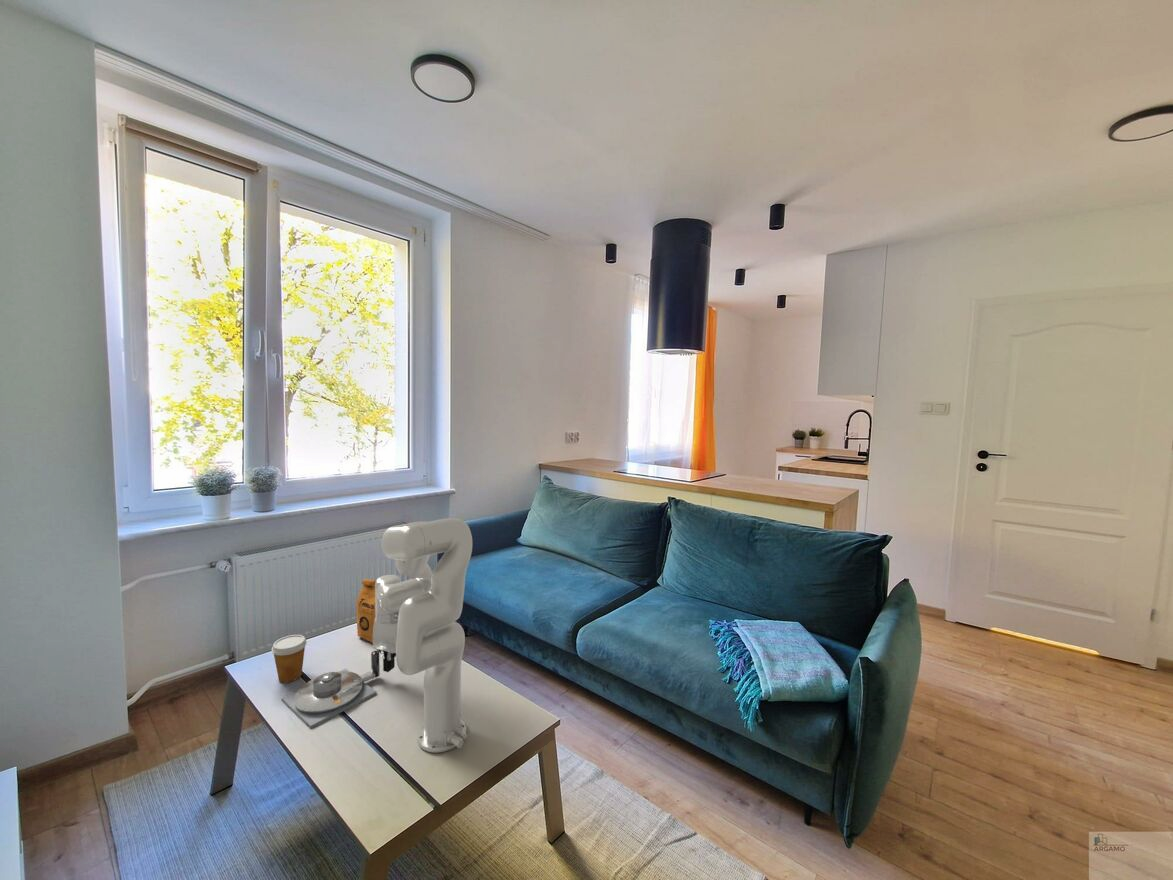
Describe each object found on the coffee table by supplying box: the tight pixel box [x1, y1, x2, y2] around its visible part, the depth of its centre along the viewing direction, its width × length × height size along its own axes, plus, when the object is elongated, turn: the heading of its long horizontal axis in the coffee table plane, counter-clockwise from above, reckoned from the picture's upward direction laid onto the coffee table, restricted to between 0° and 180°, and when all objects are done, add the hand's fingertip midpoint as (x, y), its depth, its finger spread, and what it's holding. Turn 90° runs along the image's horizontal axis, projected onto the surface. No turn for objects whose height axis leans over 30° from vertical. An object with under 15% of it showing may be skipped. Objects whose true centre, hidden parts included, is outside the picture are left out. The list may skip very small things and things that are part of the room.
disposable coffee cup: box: [271, 634, 307, 683], centre depth 148 cm, size 10×10×12 cm
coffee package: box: [356, 578, 376, 644], centre depth 173 cm, size 10×12×22 cm
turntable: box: [295, 650, 381, 714], centre depth 141 cm, size 24×18×8 cm
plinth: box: [280, 668, 377, 729], centre depth 140 cm, size 19×19×1 cm
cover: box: [313, 671, 342, 698], centre depth 139 cm, size 8×8×4 cm
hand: (388, 669), depth 148 cm, fingers closed
